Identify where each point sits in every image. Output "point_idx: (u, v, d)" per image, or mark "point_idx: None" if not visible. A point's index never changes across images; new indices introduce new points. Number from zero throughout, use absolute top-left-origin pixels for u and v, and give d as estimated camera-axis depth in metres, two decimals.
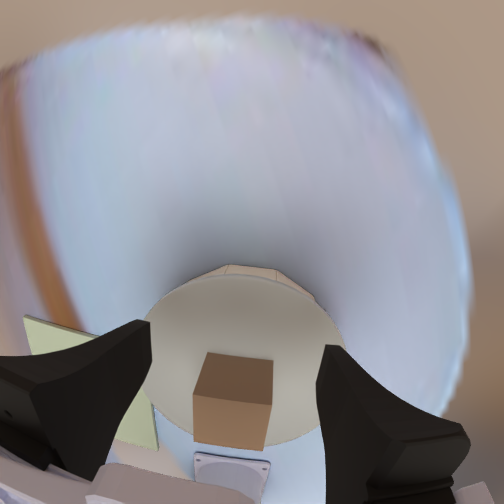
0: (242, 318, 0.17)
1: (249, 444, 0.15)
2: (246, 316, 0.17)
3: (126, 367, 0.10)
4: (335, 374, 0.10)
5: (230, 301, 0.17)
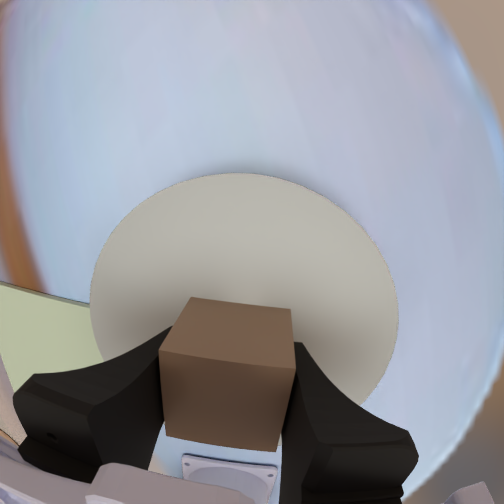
0: (244, 237, 0.12)
1: (254, 440, 0.09)
2: (250, 235, 0.12)
3: None
4: None
5: (226, 210, 0.11)
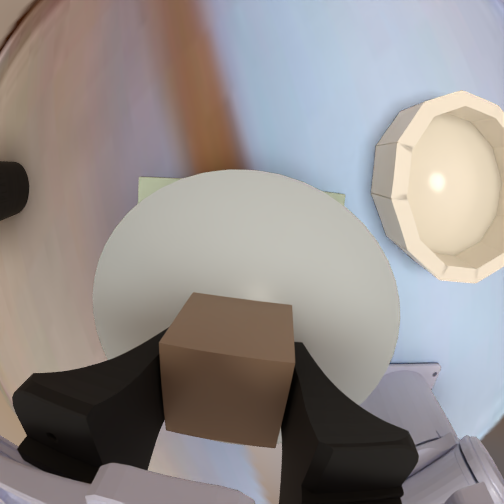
0: (245, 233, 0.12)
1: (254, 436, 0.09)
2: (252, 230, 0.12)
3: None
4: None
5: (228, 205, 0.12)
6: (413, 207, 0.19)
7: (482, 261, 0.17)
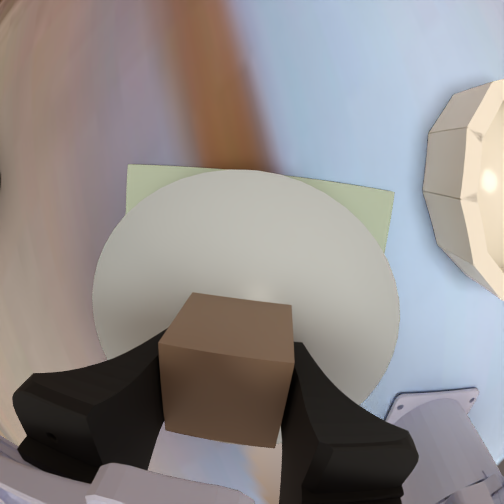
0: (245, 233, 0.12)
1: (253, 436, 0.09)
2: (252, 230, 0.12)
3: None
4: None
5: (227, 205, 0.12)
6: None
7: None
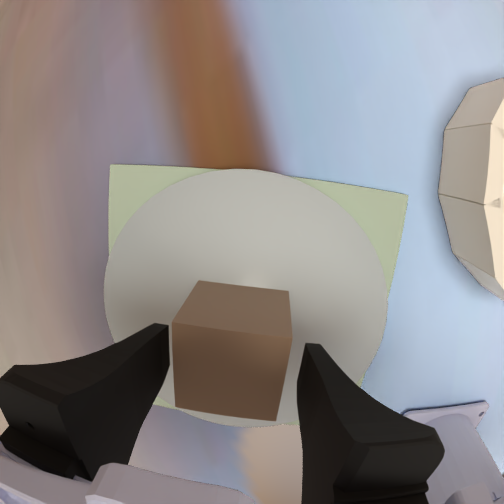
0: (246, 226, 0.13)
1: (256, 409, 0.11)
2: (252, 223, 0.13)
3: (147, 372, 0.10)
4: (312, 373, 0.10)
5: (230, 201, 0.13)
6: None
7: None
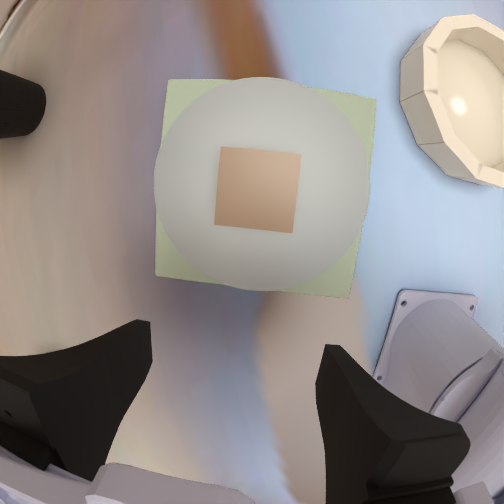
0: (266, 112, 0.18)
1: (277, 220, 0.16)
2: (270, 110, 0.18)
3: (126, 367, 0.10)
4: (335, 374, 0.10)
5: (255, 96, 0.18)
6: None
7: None
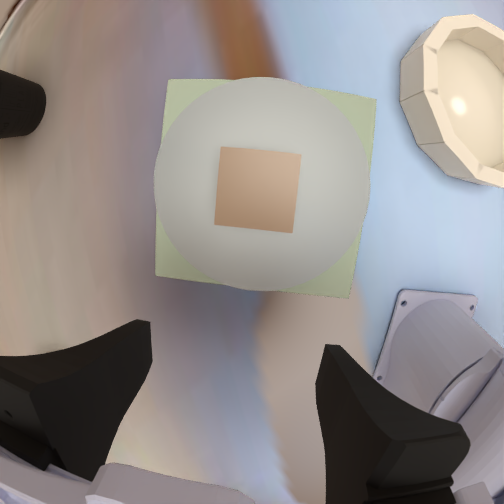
0: (266, 112, 0.18)
1: (277, 220, 0.16)
2: (270, 110, 0.18)
3: (126, 367, 0.10)
4: (335, 374, 0.10)
5: (255, 96, 0.18)
6: None
7: None
